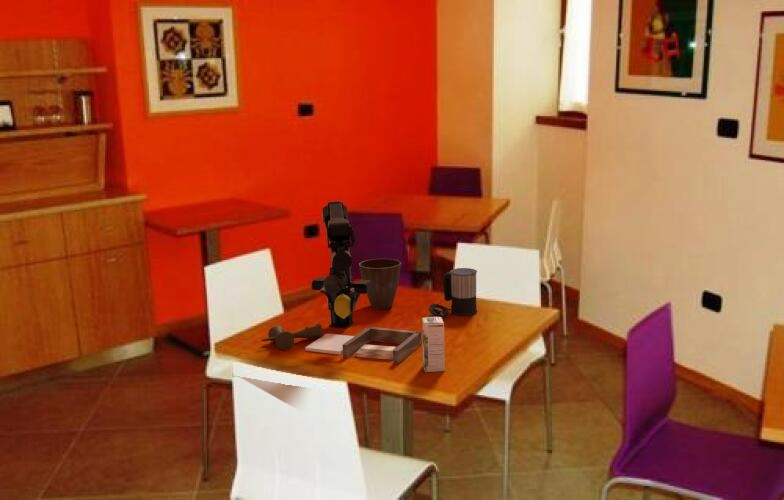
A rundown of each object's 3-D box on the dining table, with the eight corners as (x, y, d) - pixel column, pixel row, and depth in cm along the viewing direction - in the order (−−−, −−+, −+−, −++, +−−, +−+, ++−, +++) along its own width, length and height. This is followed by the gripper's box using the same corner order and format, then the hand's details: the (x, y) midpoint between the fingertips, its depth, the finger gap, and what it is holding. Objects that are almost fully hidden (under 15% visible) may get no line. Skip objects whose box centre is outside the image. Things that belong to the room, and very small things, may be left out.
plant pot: (359, 301, 299) (357, 259, 295) (399, 299, 300) (398, 257, 297) (362, 313, 284) (360, 269, 281) (404, 310, 286) (403, 266, 282)
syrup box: (422, 365, 232) (420, 317, 229) (442, 364, 233) (441, 315, 230) (424, 372, 227) (423, 323, 224) (445, 371, 227) (444, 322, 224)
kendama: (327, 343, 256) (266, 353, 248) (316, 336, 265) (257, 345, 256) (326, 325, 255) (265, 335, 247) (315, 318, 264) (256, 327, 255)
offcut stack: (355, 357, 242) (354, 348, 242) (360, 353, 246) (359, 344, 245) (393, 360, 238) (392, 351, 238) (397, 356, 242) (397, 346, 241)
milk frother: (482, 310, 282) (481, 269, 279) (461, 323, 270) (460, 280, 266) (446, 305, 290) (445, 265, 287) (424, 317, 277) (422, 275, 274)
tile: (305, 350, 249) (305, 347, 249) (327, 336, 261) (327, 333, 261) (340, 354, 244) (340, 351, 244) (360, 340, 257) (360, 337, 256)
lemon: (350, 321, 247) (349, 296, 245) (332, 321, 248) (331, 296, 246) (354, 316, 252) (353, 291, 250) (337, 315, 253) (335, 291, 251)
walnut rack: (343, 357, 242) (342, 344, 241) (368, 338, 258) (368, 326, 257) (398, 364, 234) (397, 351, 233) (421, 344, 250) (421, 331, 249)
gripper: (301, 267, 242) (304, 317, 246) (357, 271, 235) (360, 322, 239) (318, 258, 252) (320, 306, 256) (373, 262, 245) (375, 311, 249)
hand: (343, 311), depth 250 cm, fingers closed on lemon, 5 cm apart
